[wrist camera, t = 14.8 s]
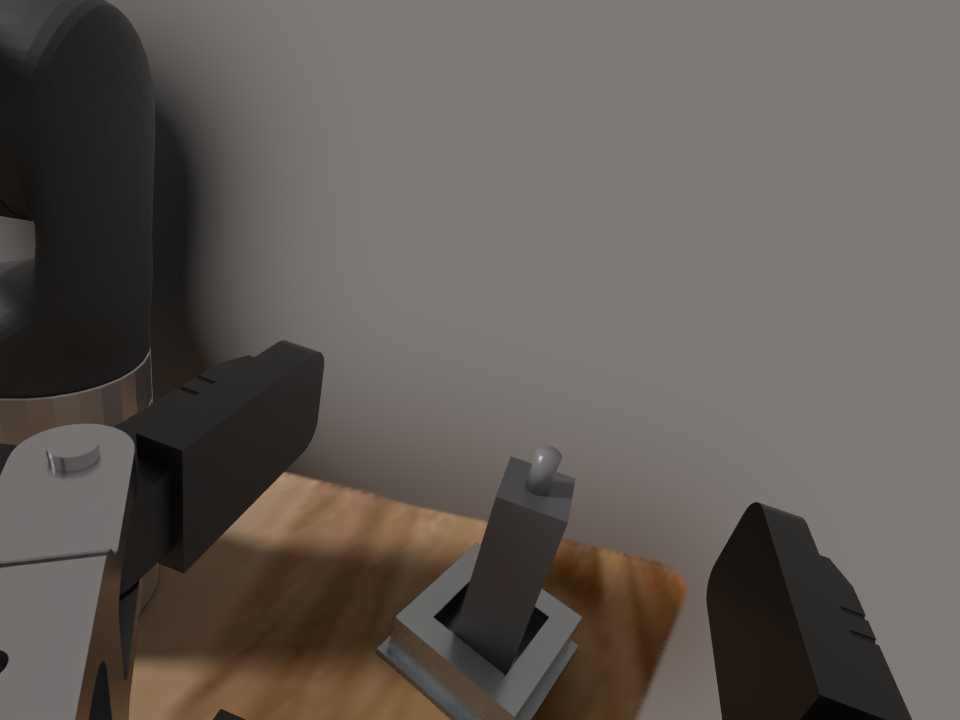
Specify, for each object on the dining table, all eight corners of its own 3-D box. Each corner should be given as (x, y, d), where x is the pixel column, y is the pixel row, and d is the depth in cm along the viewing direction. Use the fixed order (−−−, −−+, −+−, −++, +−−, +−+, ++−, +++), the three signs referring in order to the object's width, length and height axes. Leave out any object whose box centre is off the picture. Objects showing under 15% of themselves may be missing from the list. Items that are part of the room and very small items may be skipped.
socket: (375, 652, 37) (383, 617, 35) (465, 567, 44) (475, 535, 43) (502, 765, 32) (517, 730, 31) (576, 649, 40) (591, 617, 39)
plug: (444, 662, 37) (506, 461, 29) (461, 613, 40) (521, 423, 33) (503, 685, 36) (581, 487, 29) (515, 634, 40) (587, 446, 32)
